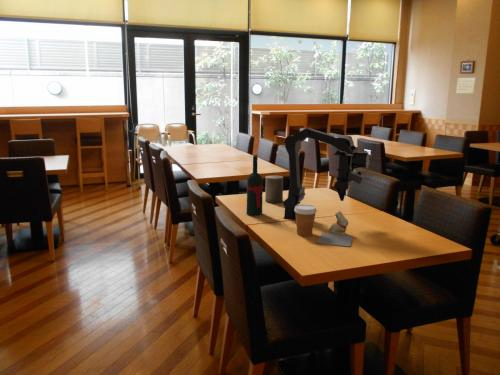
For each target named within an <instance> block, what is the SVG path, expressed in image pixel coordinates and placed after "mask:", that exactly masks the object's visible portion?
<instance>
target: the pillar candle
mask: <svg viewBox="0 0 500 375" xmlns="http://www.w3.org/2000/svg"><path fill="white" fill-rule="evenodd" d="M264 189H265V190H264V191H265V192H264V193H265V197H264V200H265V201H264V202H266V203H269V204H279V203H283V202H284V199H283V196H284V176H282V175H275V174H274V175H266V176H265V188H264Z"/></svg>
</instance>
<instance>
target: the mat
mask: <svg viewBox="0 0 500 375" xmlns="http://www.w3.org/2000/svg"><path fill="white" fill-rule="evenodd" d="M352 241H353V235H346V234H345V235H338V234H333V233H327V232H321V234H320V236H319V238H318V239H317V242H316V244H320V245H327V246H337V247H345V248H350V247H351V244H352Z"/></svg>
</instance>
